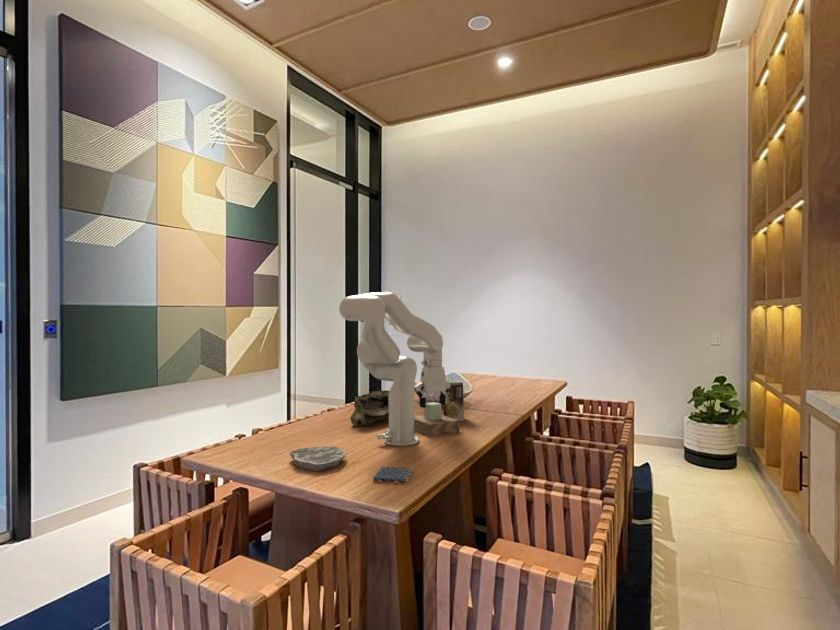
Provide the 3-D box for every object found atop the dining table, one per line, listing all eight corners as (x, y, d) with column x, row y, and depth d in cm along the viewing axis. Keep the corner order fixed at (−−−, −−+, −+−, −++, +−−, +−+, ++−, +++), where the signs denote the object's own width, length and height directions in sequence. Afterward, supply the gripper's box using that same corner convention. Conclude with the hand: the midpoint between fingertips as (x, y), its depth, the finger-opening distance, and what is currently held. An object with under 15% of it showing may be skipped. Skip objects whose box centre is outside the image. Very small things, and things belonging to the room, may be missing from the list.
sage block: (431, 420, 193) (431, 405, 193) (424, 418, 197) (424, 403, 197) (441, 418, 196) (441, 403, 196) (434, 416, 200) (434, 402, 200)
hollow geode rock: (395, 425, 224) (379, 399, 230) (411, 409, 218) (394, 382, 225) (351, 436, 202) (334, 407, 208) (367, 418, 196) (350, 389, 203)
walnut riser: (430, 437, 186) (429, 424, 186) (408, 429, 199) (408, 417, 199) (459, 432, 193) (459, 420, 193) (436, 424, 207) (436, 413, 207)
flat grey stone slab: (359, 463, 154) (359, 454, 154) (313, 477, 142) (313, 466, 142) (325, 451, 168) (325, 442, 168) (280, 462, 156) (280, 453, 156)
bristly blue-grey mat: (370, 484, 136) (370, 477, 136) (380, 472, 147) (380, 465, 147) (407, 486, 134) (407, 479, 134) (414, 474, 145) (414, 467, 145)
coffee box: (464, 418, 217) (463, 382, 217) (463, 421, 211) (463, 384, 211) (443, 417, 218) (443, 381, 218) (442, 421, 212) (442, 384, 212)
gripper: (420, 365, 188) (420, 409, 188) (455, 363, 198) (455, 405, 197) (409, 364, 194) (409, 406, 194) (444, 362, 204) (444, 402, 204)
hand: (432, 406), depth 196 cm, fingers open, 9 cm apart
